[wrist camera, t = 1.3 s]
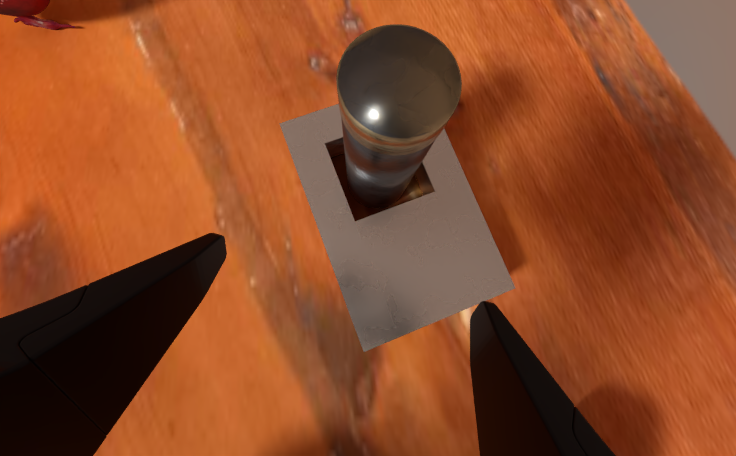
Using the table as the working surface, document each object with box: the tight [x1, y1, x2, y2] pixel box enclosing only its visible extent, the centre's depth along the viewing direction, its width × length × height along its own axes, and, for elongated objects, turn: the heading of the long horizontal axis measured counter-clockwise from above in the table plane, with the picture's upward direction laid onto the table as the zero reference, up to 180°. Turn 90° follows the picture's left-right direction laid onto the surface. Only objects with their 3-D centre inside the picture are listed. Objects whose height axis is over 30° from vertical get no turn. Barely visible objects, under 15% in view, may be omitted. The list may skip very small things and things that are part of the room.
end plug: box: [337, 25, 462, 208], centre depth 18 cm, size 5×5×13 cm
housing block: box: [280, 104, 515, 352], centre depth 23 cm, size 12×18×3 cm, turn 21°
